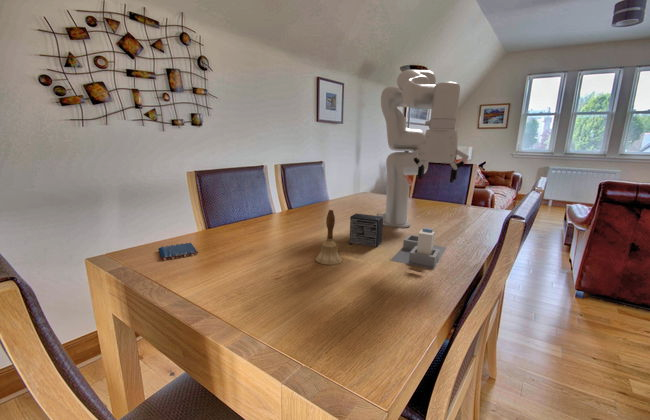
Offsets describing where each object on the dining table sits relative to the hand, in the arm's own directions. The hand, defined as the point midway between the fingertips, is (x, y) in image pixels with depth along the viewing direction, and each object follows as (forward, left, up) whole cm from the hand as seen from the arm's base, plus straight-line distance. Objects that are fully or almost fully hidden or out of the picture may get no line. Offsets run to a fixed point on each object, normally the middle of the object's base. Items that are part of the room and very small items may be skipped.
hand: (436, 180), depth 102 cm
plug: (+1, -11, -24) cm, 26 cm away
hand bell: (-25, -25, -25) cm, 43 cm away
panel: (-2, -6, -24) cm, 25 cm away
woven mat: (-69, -46, -25) cm, 87 cm away
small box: (-21, -5, -25) cm, 33 cm away
